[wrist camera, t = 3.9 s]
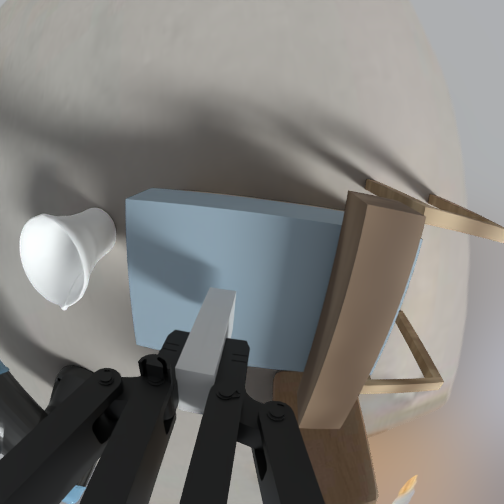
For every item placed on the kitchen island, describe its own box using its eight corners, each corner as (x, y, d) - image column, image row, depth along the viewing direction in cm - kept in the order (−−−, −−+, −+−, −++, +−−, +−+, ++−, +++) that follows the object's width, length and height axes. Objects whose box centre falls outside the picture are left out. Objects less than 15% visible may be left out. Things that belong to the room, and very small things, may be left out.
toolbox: (180, 292, 32) (138, 364, 21) (185, 154, 26) (124, 166, 15) (399, 318, 31) (438, 389, 20) (437, 195, 26) (510, 231, 14)
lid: (154, 316, 24) (136, 344, 20) (151, 187, 20) (125, 199, 16) (360, 343, 23) (371, 375, 19) (398, 221, 19) (422, 239, 15)
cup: (81, 268, 32) (33, 307, 23) (67, 195, 29) (8, 219, 19) (140, 269, 31) (96, 316, 22) (127, 187, 28) (69, 211, 19)
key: (296, 392, 20) (298, 428, 17) (348, 190, 15) (367, 204, 11) (334, 394, 20) (339, 429, 17) (397, 200, 14) (426, 216, 11)
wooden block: (272, 368, 35) (264, 515, 16) (350, 359, 34) (381, 501, 15) (280, 413, 39) (276, 533, 20) (347, 405, 37) (365, 524, 19)
